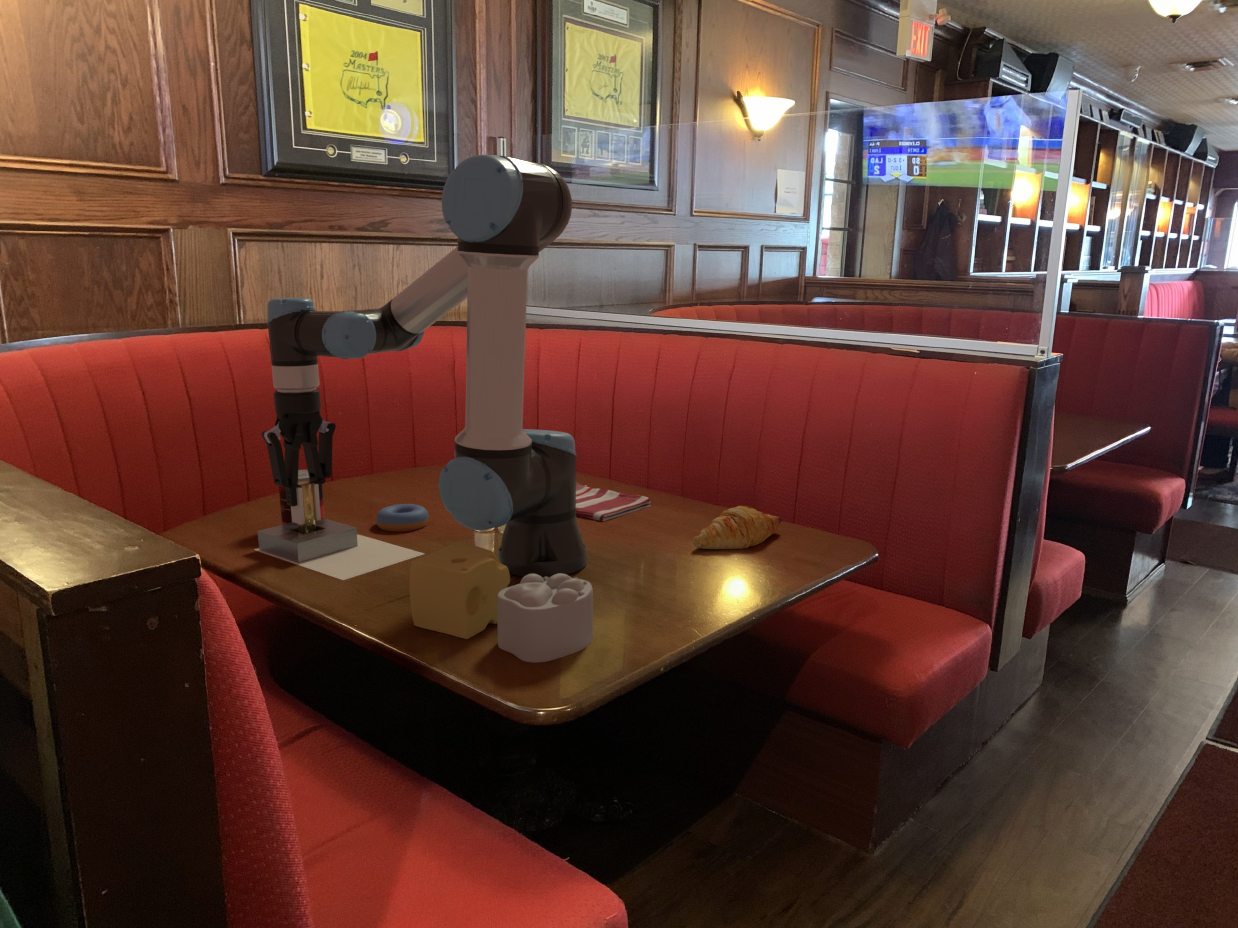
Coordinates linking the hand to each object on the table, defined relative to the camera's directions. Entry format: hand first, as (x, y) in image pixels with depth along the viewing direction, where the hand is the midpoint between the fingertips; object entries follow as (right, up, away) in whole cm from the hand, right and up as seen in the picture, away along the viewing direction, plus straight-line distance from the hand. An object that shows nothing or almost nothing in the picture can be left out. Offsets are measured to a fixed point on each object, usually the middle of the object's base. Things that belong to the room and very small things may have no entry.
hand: (306, 520), depth 159 cm
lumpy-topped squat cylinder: (+46, -14, -37) cm, 61 cm away
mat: (+6, -6, -1) cm, 8 cm away
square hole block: (0, -5, +1) cm, 5 cm away
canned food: (-5, -3, +14) cm, 15 cm away
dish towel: (+48, +1, +33) cm, 58 cm away
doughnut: (+13, -3, +16) cm, 21 cm away
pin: (0, -4, +1) cm, 4 cm away
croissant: (+77, -5, +7) cm, 78 cm away
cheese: (+33, -13, -31) cm, 47 cm away
